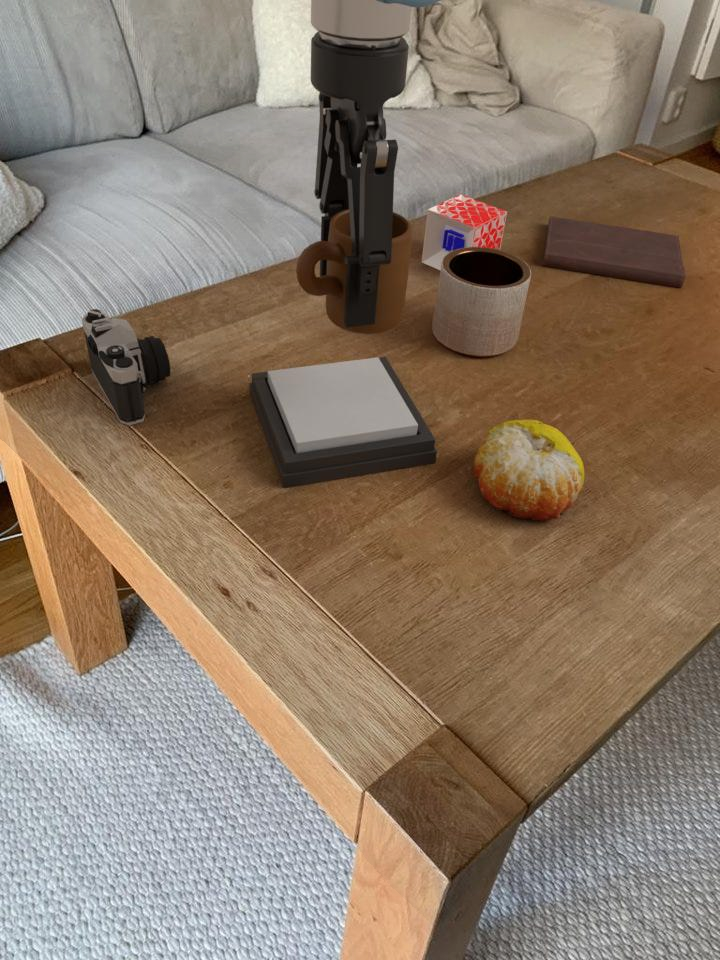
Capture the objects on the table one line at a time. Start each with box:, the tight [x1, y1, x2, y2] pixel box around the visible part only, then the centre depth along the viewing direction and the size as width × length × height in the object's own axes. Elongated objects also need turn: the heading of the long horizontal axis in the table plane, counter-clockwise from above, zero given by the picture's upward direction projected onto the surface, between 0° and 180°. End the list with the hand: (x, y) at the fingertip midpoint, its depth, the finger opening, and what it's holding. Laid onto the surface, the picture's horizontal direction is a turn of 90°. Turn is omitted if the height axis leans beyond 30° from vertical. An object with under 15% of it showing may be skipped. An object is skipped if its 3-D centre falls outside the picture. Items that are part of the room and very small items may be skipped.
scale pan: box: [268, 356, 418, 453], centre depth 85 cm, size 13×13×2 cm
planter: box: [431, 247, 532, 358], centre depth 100 cm, size 11×11×10 cm
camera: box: [81, 308, 172, 426], centre depth 88 cm, size 13×8×9 cm, turn 32°
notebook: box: [542, 215, 686, 289], centre depth 122 cm, size 15×20×2 cm
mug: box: [295, 209, 413, 335], centre depth 75 cm, size 12×8×9 cm, turn 131°
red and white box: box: [421, 193, 508, 271], centre depth 116 cm, size 8×8×8 cm
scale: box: [248, 356, 438, 489], centre depth 87 cm, size 16×16×3 cm
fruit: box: [473, 419, 585, 522], centre depth 80 cm, size 11×10×8 cm
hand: (346, 301), depth 77 cm, fingers closed on mug, 8 cm apart
